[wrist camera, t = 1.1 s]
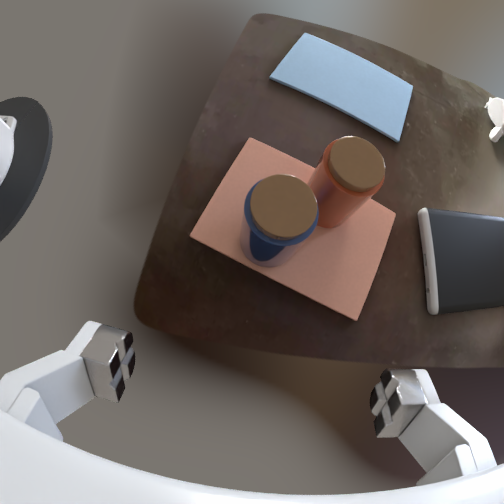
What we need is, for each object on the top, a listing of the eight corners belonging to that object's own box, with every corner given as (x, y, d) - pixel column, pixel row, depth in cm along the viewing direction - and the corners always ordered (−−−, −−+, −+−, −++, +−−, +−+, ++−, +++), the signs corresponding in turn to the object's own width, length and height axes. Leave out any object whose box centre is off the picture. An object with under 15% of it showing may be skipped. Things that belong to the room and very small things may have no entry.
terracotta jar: (292, 212, 34) (315, 170, 25) (312, 171, 36) (338, 121, 26) (340, 237, 34) (379, 204, 25) (357, 194, 36) (395, 153, 26)
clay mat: (189, 237, 33) (189, 235, 33) (249, 139, 37) (249, 137, 36) (355, 321, 33) (356, 321, 32) (394, 215, 36) (396, 213, 36)
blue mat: (269, 78, 40) (269, 76, 39) (304, 34, 43) (304, 32, 42) (397, 142, 39) (399, 141, 38) (411, 88, 42) (413, 86, 42)
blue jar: (229, 251, 33) (230, 218, 23) (255, 203, 34) (266, 157, 25) (281, 277, 33) (303, 256, 23) (304, 228, 34) (333, 191, 24)
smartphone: (414, 210, 36) (421, 205, 35) (526, 224, 39) (533, 221, 37) (424, 315, 33) (432, 314, 32) (536, 300, 35) (543, 299, 34)
